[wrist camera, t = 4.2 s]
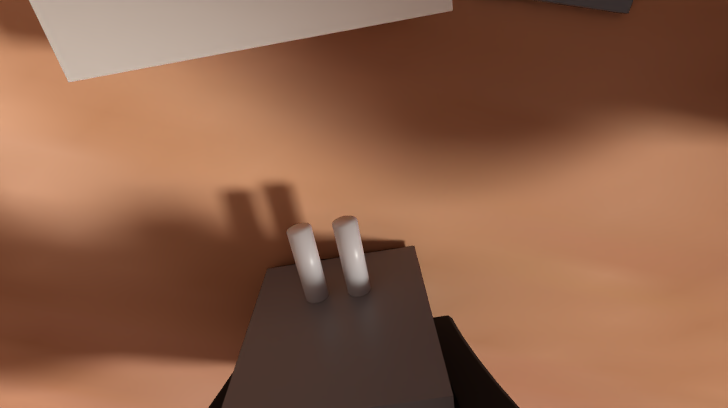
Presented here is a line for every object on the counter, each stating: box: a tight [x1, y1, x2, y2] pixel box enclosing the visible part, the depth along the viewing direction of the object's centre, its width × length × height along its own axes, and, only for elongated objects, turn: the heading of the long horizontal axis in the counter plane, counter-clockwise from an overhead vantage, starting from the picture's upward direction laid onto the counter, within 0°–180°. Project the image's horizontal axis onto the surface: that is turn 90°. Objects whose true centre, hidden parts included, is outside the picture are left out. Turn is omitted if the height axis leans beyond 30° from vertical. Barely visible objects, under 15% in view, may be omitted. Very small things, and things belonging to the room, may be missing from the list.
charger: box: [222, 216, 454, 408], centre depth 10 cm, size 6×4×5 cm
